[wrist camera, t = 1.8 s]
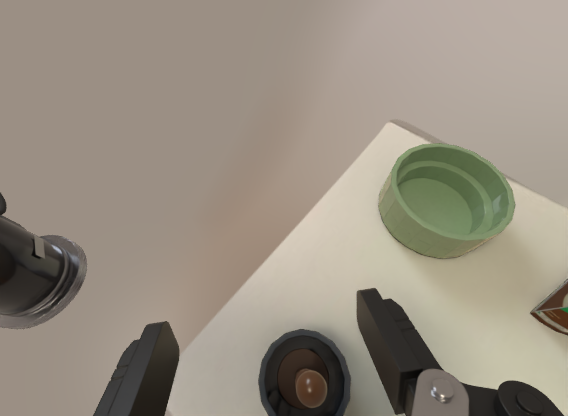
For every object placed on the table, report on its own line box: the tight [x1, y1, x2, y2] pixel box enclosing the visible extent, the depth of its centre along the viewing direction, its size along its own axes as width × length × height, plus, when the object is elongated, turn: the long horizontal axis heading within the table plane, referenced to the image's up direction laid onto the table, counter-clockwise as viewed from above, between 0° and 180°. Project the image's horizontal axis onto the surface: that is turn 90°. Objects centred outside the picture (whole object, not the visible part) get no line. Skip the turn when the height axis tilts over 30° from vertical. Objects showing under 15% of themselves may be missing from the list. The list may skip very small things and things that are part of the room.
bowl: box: [379, 143, 515, 258], centre depth 33 cm, size 13×13×6 cm
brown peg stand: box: [277, 348, 329, 410], centre depth 20 cm, size 5×5×16 cm
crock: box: [258, 329, 351, 416], centre depth 25 cm, size 7×7×6 cm
